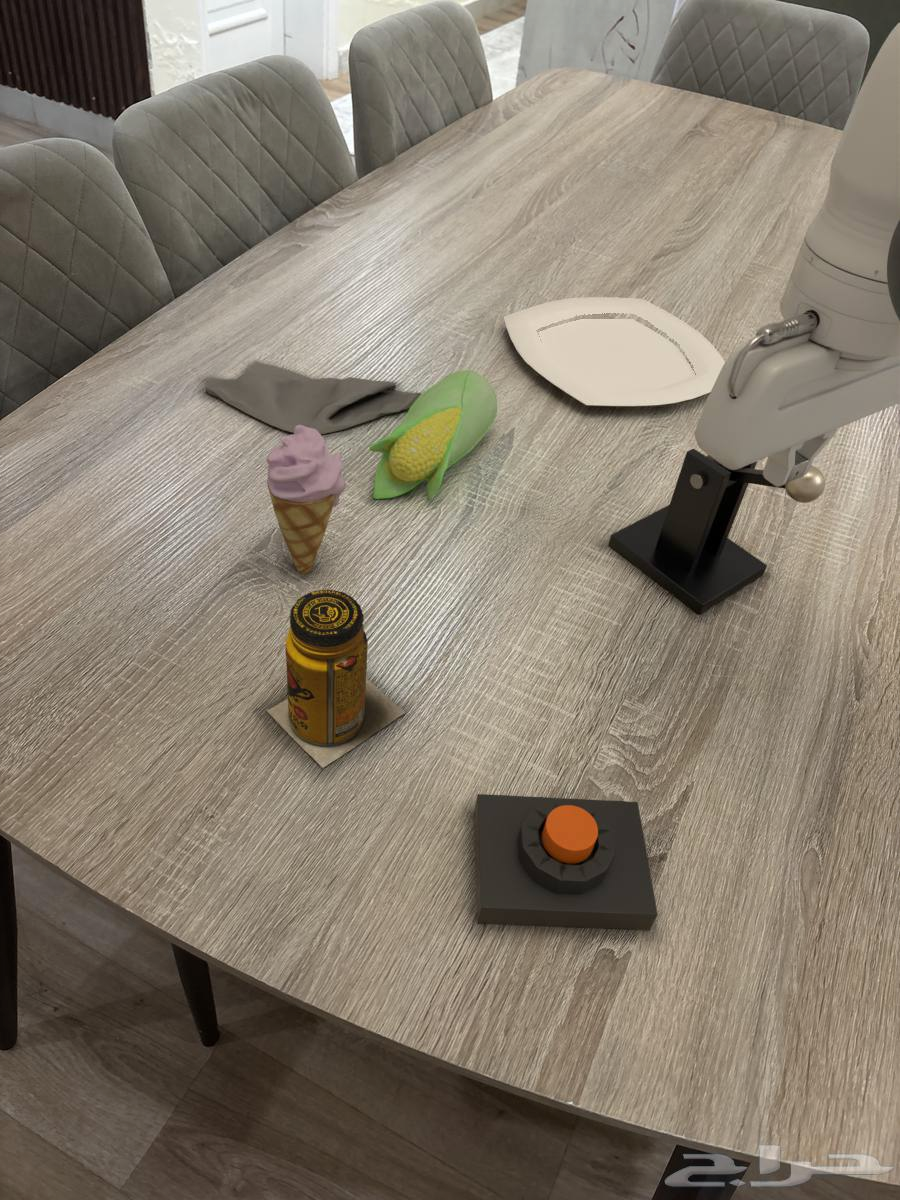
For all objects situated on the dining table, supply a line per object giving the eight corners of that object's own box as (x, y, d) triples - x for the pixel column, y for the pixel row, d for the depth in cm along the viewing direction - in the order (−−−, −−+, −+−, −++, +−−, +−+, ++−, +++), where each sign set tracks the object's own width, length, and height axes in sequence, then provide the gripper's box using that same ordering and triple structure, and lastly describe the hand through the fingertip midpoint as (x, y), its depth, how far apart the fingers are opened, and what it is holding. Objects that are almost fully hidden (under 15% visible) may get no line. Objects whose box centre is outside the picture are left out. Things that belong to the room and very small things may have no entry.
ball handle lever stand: (763, 575, 93) (809, 471, 85) (699, 615, 88) (741, 508, 79) (672, 511, 100) (706, 408, 91) (607, 545, 94) (637, 439, 86)
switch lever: (833, 497, 80) (832, 461, 78) (811, 510, 78) (810, 474, 77) (716, 480, 89) (714, 447, 88) (694, 491, 87) (692, 458, 86)
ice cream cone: (334, 543, 91) (337, 410, 80) (350, 586, 87) (355, 451, 76) (265, 552, 89) (258, 417, 78) (278, 597, 85) (273, 460, 74)
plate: (576, 433, 109) (579, 419, 107) (476, 322, 126) (478, 309, 124) (759, 399, 118) (764, 385, 117) (644, 300, 135) (647, 288, 134)
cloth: (183, 417, 103) (181, 400, 102) (224, 356, 113) (223, 339, 112) (416, 457, 102) (417, 439, 101) (436, 392, 112) (438, 375, 111)
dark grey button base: (631, 818, 71) (643, 787, 68) (649, 930, 65) (664, 901, 62) (473, 810, 70) (480, 779, 68) (477, 923, 64) (484, 894, 61)
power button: (589, 819, 67) (594, 805, 65) (596, 865, 64) (601, 851, 63) (539, 817, 66) (543, 803, 65) (543, 863, 64) (548, 849, 62)
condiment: (266, 712, 75) (259, 605, 67) (348, 663, 80) (351, 557, 71) (322, 770, 72) (322, 665, 63) (405, 715, 76) (415, 610, 68)
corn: (528, 397, 104) (444, 491, 91) (484, 433, 110) (399, 526, 97) (478, 340, 102) (386, 428, 89) (436, 379, 108) (344, 467, 95)
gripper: (789, 358, 52) (717, 546, 62) (991, 289, 62) (901, 462, 71) (707, 308, 56) (651, 494, 65) (910, 251, 65) (835, 420, 75)
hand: (783, 477), depth 68 cm, fingers closed
